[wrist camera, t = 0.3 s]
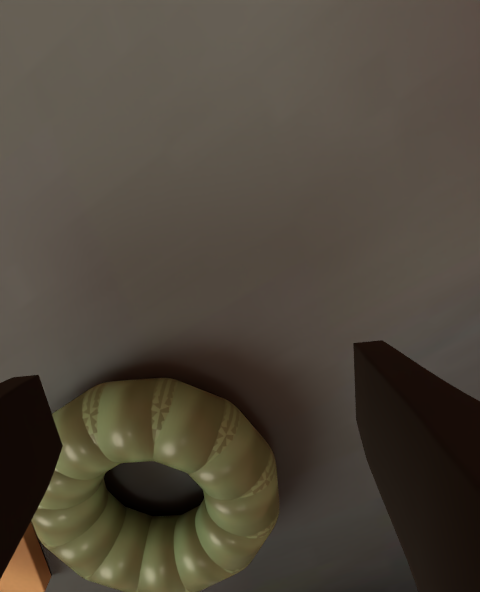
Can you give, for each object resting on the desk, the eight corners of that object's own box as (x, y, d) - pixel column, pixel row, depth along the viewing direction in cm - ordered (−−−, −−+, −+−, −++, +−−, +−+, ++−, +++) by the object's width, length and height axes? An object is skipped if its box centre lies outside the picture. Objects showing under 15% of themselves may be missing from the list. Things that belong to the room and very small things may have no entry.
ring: (283, 542, 25) (288, 606, 22) (75, 552, 26) (49, 616, 23) (267, 355, 21) (270, 401, 17) (15, 374, 22) (-28, 421, 18)
